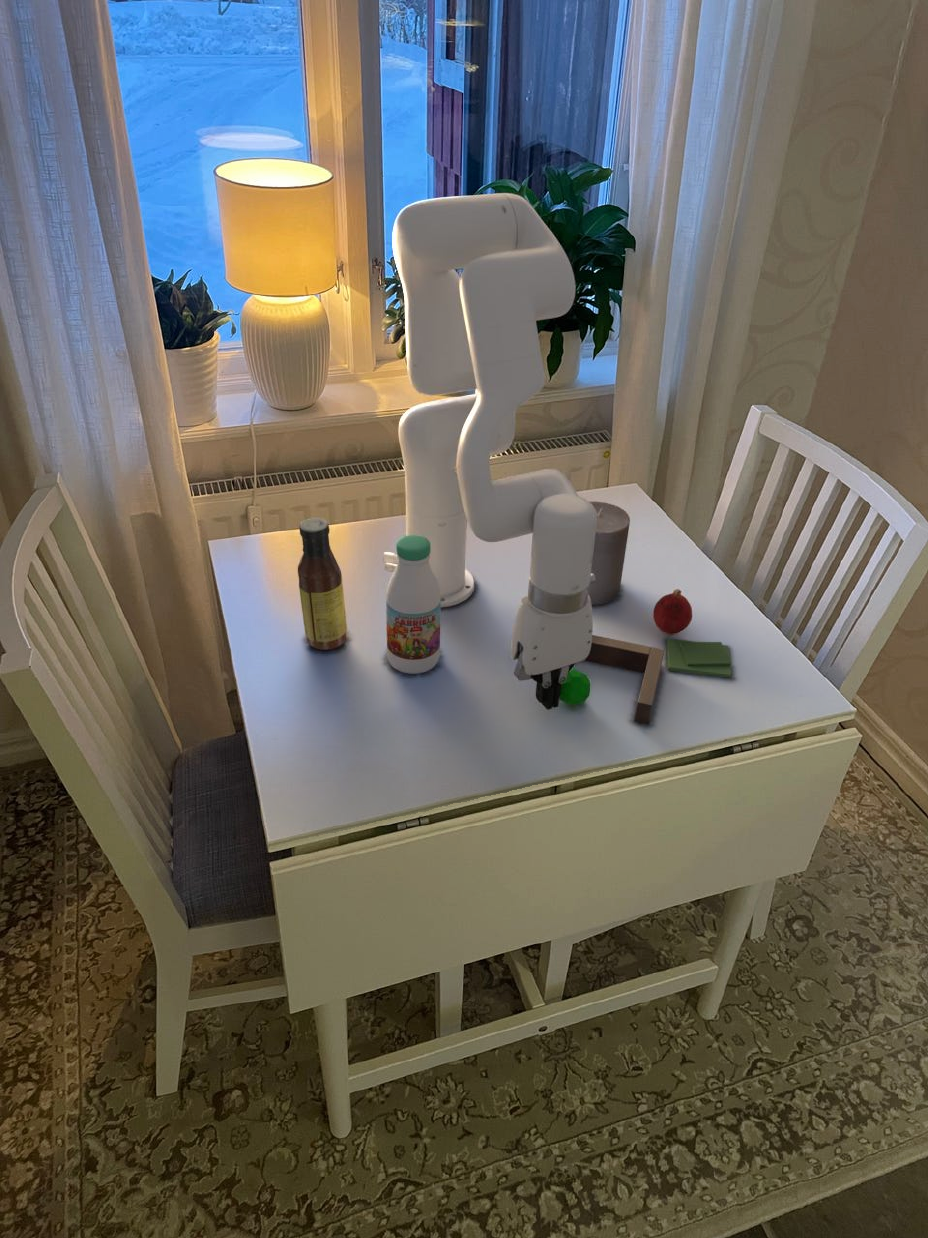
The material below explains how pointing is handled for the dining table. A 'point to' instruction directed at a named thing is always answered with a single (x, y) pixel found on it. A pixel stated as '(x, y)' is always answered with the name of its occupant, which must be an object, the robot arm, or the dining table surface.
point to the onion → (672, 613)
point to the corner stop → (631, 667)
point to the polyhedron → (575, 688)
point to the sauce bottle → (321, 588)
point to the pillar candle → (608, 552)
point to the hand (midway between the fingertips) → (547, 702)
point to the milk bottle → (413, 609)
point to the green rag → (699, 658)
